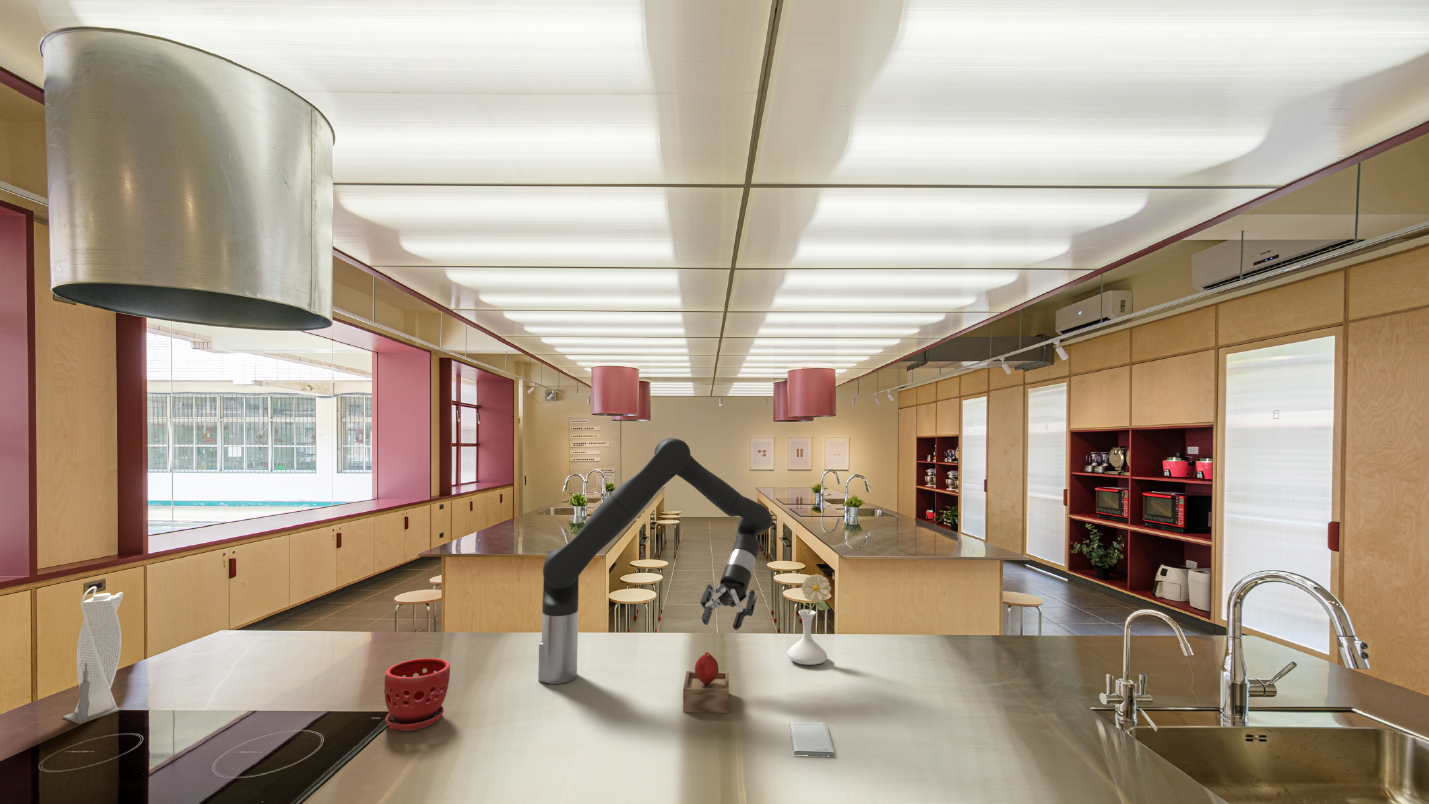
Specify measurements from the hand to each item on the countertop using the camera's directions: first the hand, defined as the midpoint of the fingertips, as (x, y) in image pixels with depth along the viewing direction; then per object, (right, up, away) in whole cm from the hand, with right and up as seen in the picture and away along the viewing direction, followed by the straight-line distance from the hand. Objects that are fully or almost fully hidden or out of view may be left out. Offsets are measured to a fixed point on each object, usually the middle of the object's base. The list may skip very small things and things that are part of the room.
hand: (719, 625), depth 152 cm
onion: (-3, -12, -7) cm, 14 cm away
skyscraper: (-143, -14, -15) cm, 144 cm away
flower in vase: (+26, -18, +19) cm, 37 cm away
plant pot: (-68, -15, -18) cm, 72 cm away
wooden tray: (-3, -16, -7) cm, 18 cm away
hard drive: (+19, -16, -25) cm, 35 cm away
